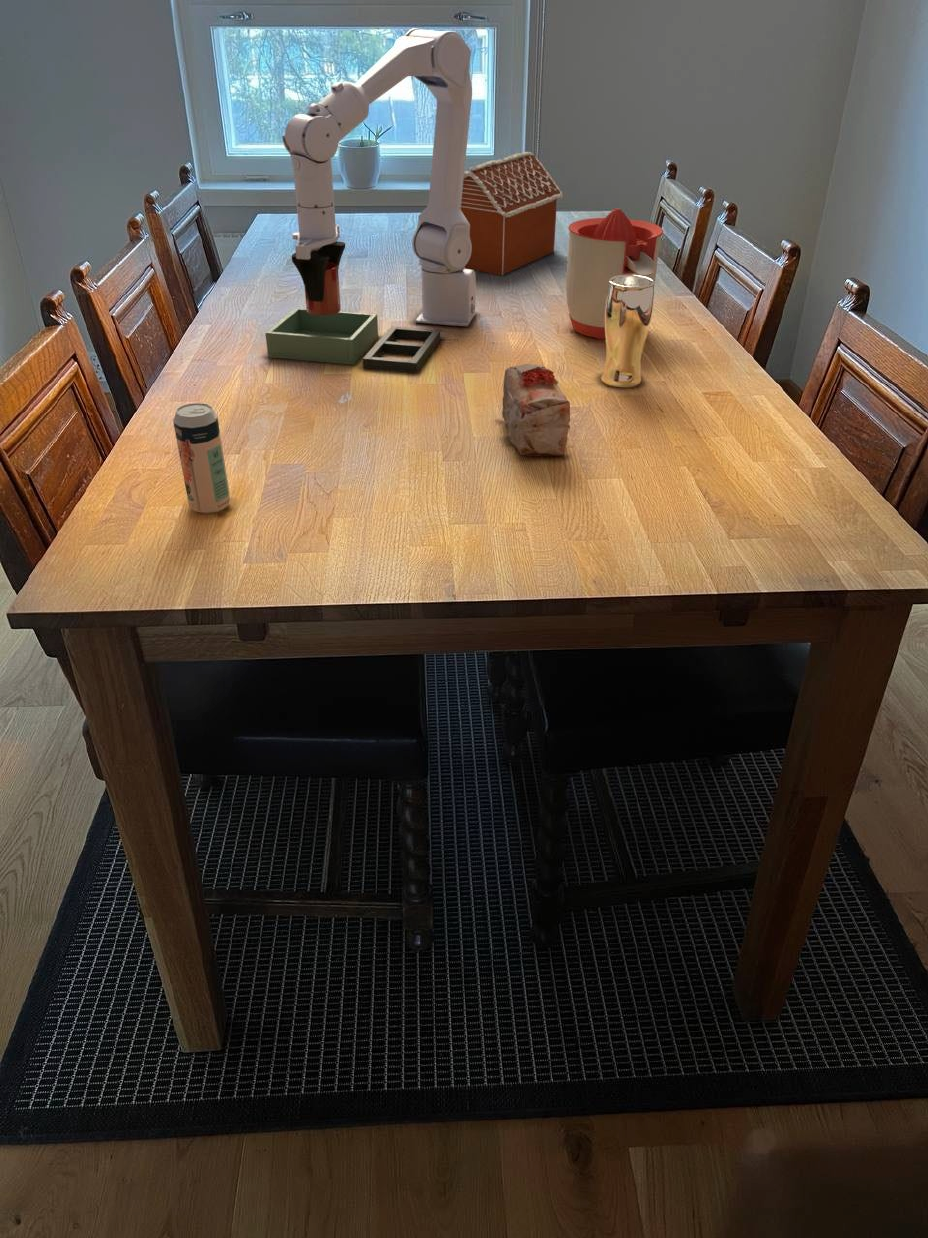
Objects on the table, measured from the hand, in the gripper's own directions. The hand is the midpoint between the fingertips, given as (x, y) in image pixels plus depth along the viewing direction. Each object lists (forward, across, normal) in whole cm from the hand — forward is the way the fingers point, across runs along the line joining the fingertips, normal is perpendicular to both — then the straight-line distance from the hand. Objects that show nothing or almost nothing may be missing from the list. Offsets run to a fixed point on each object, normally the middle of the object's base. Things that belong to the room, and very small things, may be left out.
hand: (322, 294), depth 147 cm
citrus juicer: (+9, -20, +45) cm, 50 cm away
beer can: (+9, +55, +5) cm, 56 cm away
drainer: (+9, -1, +13) cm, 16 cm away
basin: (+9, 0, 0) cm, 9 cm away
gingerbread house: (+9, -64, +17) cm, 66 cm away
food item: (+9, +28, +39) cm, 49 cm away
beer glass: (+9, +3, +49) cm, 50 cm away
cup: (+2, 0, 0) cm, 2 cm away
